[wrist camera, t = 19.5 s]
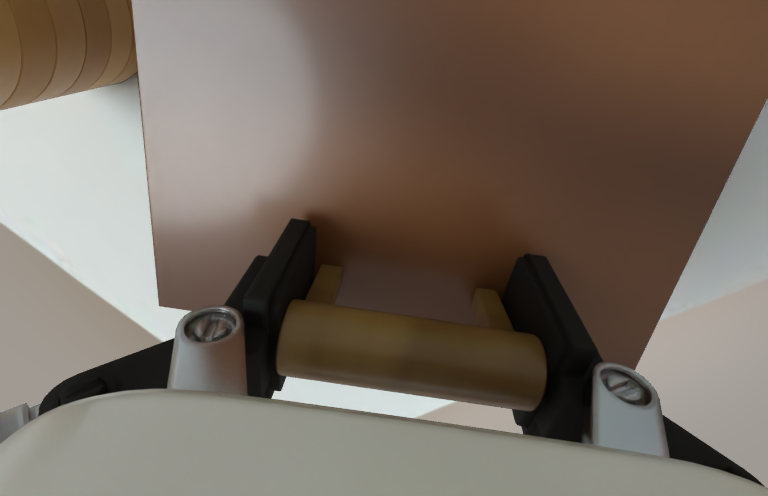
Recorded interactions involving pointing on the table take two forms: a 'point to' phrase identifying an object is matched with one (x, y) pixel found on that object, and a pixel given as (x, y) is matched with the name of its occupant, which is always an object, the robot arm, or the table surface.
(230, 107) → the lid
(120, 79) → the cookie stack
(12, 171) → the table surface
